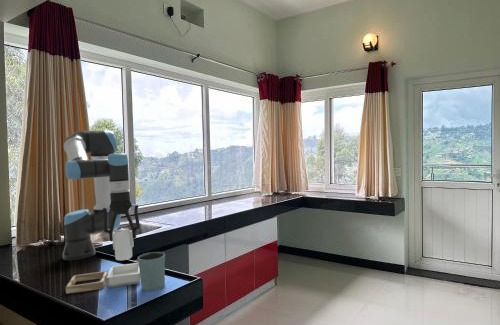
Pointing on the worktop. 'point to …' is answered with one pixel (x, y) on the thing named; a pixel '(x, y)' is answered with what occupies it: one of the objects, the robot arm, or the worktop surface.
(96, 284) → the holder ring
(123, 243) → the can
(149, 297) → the worktop surface
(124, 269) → the tray
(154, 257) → the grey-green cup
